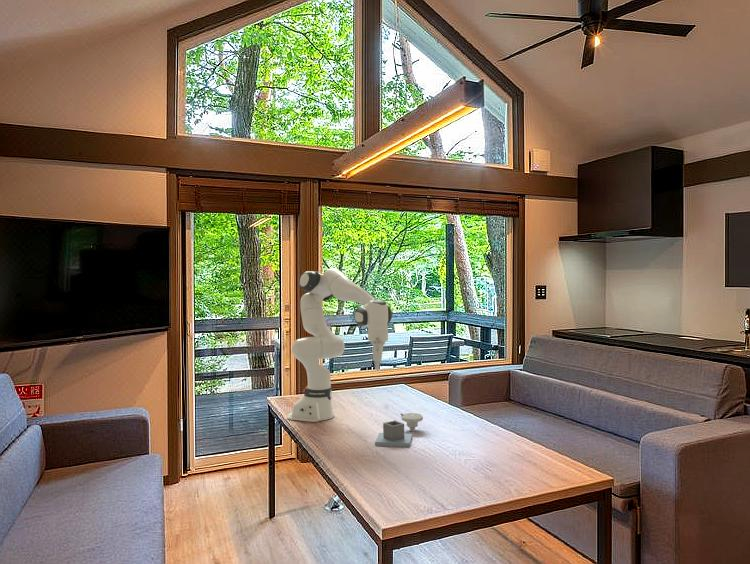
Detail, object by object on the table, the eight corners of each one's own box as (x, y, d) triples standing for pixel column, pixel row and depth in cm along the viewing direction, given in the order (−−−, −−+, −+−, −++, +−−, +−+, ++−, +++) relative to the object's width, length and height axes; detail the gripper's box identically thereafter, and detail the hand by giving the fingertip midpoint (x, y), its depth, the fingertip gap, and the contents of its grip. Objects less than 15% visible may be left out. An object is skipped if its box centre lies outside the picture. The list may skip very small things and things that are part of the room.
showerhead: (401, 410, 237) (423, 411, 235) (401, 426, 237) (424, 427, 235) (398, 416, 228) (421, 417, 226) (398, 432, 228) (421, 434, 226)
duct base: (375, 445, 212) (374, 430, 211) (379, 436, 224) (379, 422, 223) (409, 447, 210) (409, 432, 209) (412, 437, 221) (411, 423, 221)
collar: (392, 441, 212) (392, 426, 212) (383, 437, 217) (383, 423, 217) (404, 438, 216) (404, 423, 216) (395, 434, 221) (395, 420, 221)
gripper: (384, 340, 221) (384, 372, 222) (385, 332, 241) (385, 362, 242) (369, 340, 221) (369, 372, 222) (372, 332, 241) (371, 362, 242)
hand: (377, 367), depth 232 cm, fingers open, 8 cm apart
